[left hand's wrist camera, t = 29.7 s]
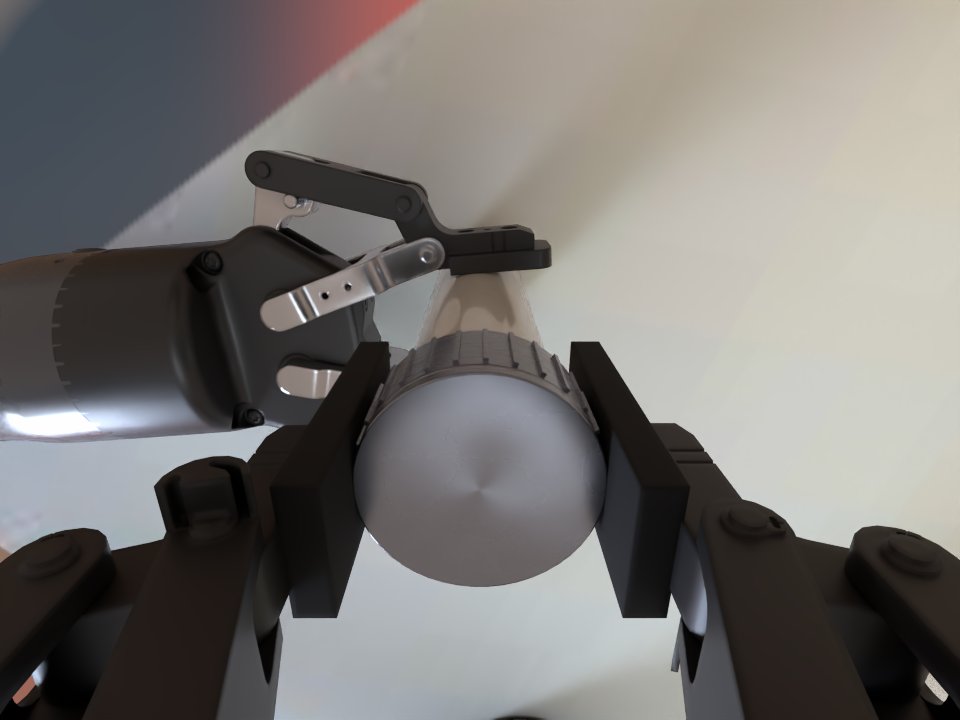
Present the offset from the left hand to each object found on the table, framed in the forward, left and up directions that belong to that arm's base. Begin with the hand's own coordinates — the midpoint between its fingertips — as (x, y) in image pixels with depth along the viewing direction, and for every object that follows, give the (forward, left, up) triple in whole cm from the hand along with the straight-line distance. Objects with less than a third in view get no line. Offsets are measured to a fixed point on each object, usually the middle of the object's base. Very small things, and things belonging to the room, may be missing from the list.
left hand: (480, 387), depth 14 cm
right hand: (-1, +2, -6) cm, 7 cm away
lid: (0, 0, +4) cm, 4 cm away
